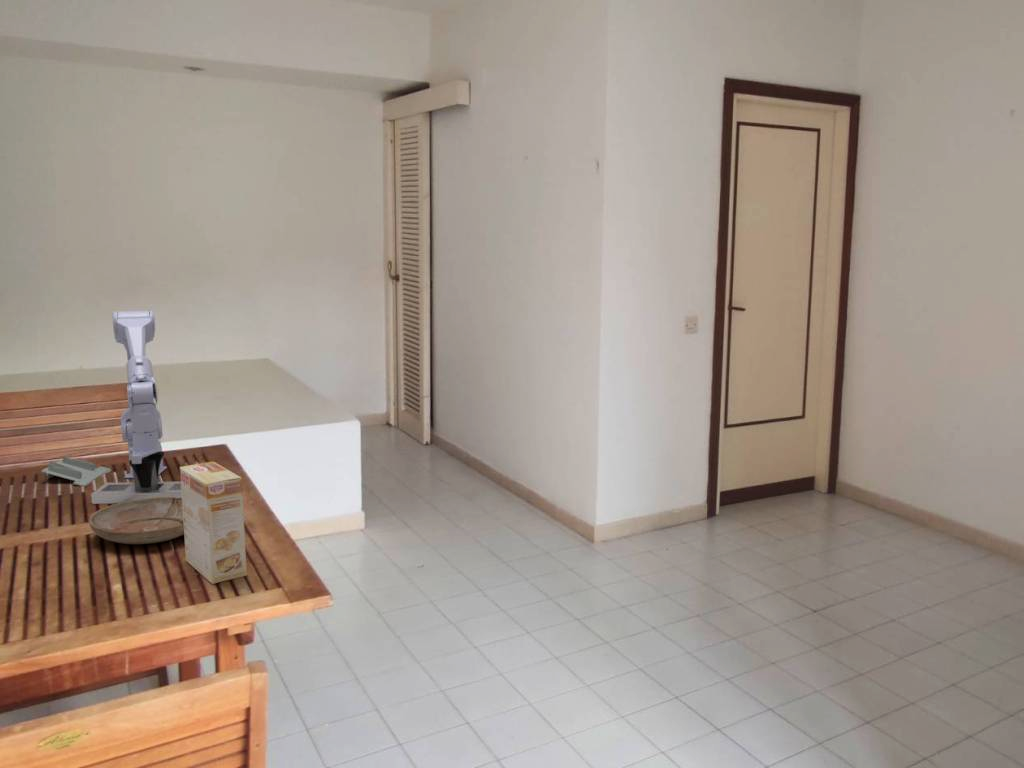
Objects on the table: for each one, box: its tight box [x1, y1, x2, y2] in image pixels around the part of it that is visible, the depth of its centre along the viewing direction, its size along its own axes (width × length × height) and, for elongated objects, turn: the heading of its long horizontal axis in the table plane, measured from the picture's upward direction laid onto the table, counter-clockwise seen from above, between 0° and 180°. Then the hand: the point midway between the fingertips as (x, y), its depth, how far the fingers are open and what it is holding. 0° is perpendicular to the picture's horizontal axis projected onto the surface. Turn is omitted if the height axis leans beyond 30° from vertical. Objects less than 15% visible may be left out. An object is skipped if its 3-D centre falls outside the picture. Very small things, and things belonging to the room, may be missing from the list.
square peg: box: [133, 463, 158, 491], centre depth 206 cm, size 4×4×8 cm
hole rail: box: [90, 480, 182, 505], centre depth 207 cm, size 9×24×2 cm, turn 94°
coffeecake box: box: [179, 461, 248, 585], centre depth 162 cm, size 15×7×20 cm, turn 39°
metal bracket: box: [41, 455, 112, 487], centre depth 223 cm, size 14×6×15 cm
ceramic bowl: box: [88, 497, 184, 545], centre depth 182 cm, size 23×24×5 cm
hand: (149, 484), depth 206 cm, fingers closed on square peg, 4 cm apart
